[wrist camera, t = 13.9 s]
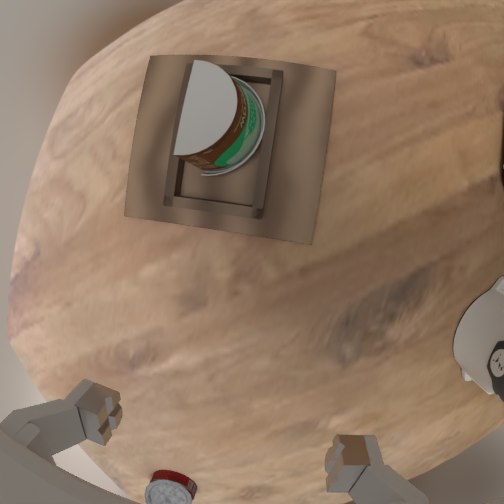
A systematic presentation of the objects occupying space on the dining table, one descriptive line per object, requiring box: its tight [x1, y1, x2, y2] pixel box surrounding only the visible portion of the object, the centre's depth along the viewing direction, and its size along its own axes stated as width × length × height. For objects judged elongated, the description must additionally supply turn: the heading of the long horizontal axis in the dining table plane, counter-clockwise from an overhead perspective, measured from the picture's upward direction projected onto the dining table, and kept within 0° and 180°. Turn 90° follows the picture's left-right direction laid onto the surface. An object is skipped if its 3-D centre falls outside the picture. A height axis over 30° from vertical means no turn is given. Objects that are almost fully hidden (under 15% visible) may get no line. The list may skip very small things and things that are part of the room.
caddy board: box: [124, 55, 336, 245], centre depth 34 cm, size 24×22×4 cm
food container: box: [174, 60, 265, 176], centre depth 29 cm, size 12×6×10 cm, turn 170°
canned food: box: [145, 470, 197, 504], centre depth 47 cm, size 11×10×10 cm
